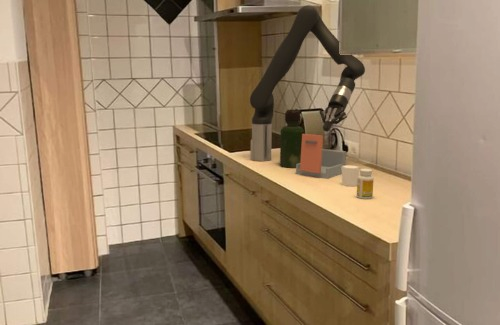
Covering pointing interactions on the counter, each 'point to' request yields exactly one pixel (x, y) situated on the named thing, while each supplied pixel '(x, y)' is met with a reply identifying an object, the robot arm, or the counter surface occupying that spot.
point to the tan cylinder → (350, 175)
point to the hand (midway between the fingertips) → (325, 130)
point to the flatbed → (328, 164)
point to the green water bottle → (291, 140)
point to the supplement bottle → (365, 184)
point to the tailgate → (311, 153)
